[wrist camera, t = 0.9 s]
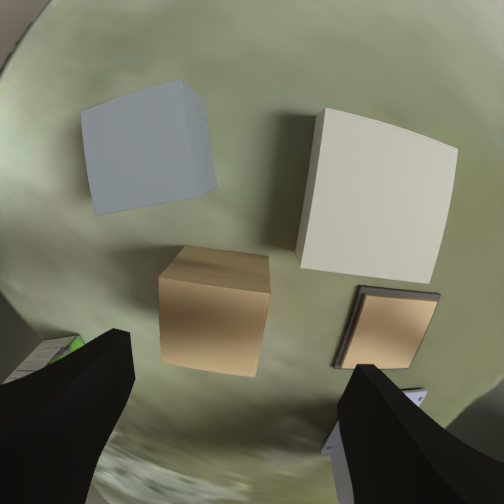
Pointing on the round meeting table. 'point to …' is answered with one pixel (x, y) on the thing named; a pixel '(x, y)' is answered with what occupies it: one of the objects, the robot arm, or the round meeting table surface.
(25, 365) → the syrup box
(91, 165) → the slate cube
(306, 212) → the base block
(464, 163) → the round meeting table surface
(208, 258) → the maple cube
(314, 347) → the round meeting table surface
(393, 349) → the tile
